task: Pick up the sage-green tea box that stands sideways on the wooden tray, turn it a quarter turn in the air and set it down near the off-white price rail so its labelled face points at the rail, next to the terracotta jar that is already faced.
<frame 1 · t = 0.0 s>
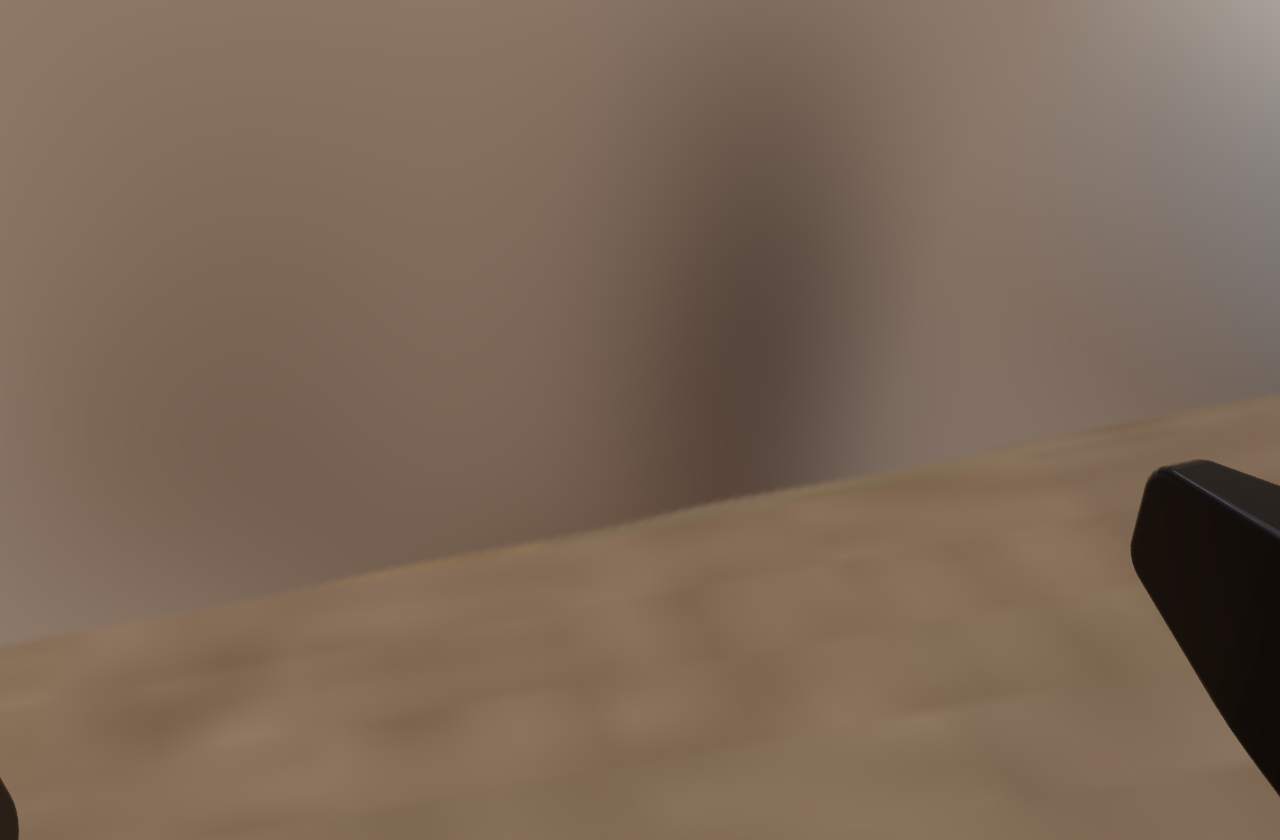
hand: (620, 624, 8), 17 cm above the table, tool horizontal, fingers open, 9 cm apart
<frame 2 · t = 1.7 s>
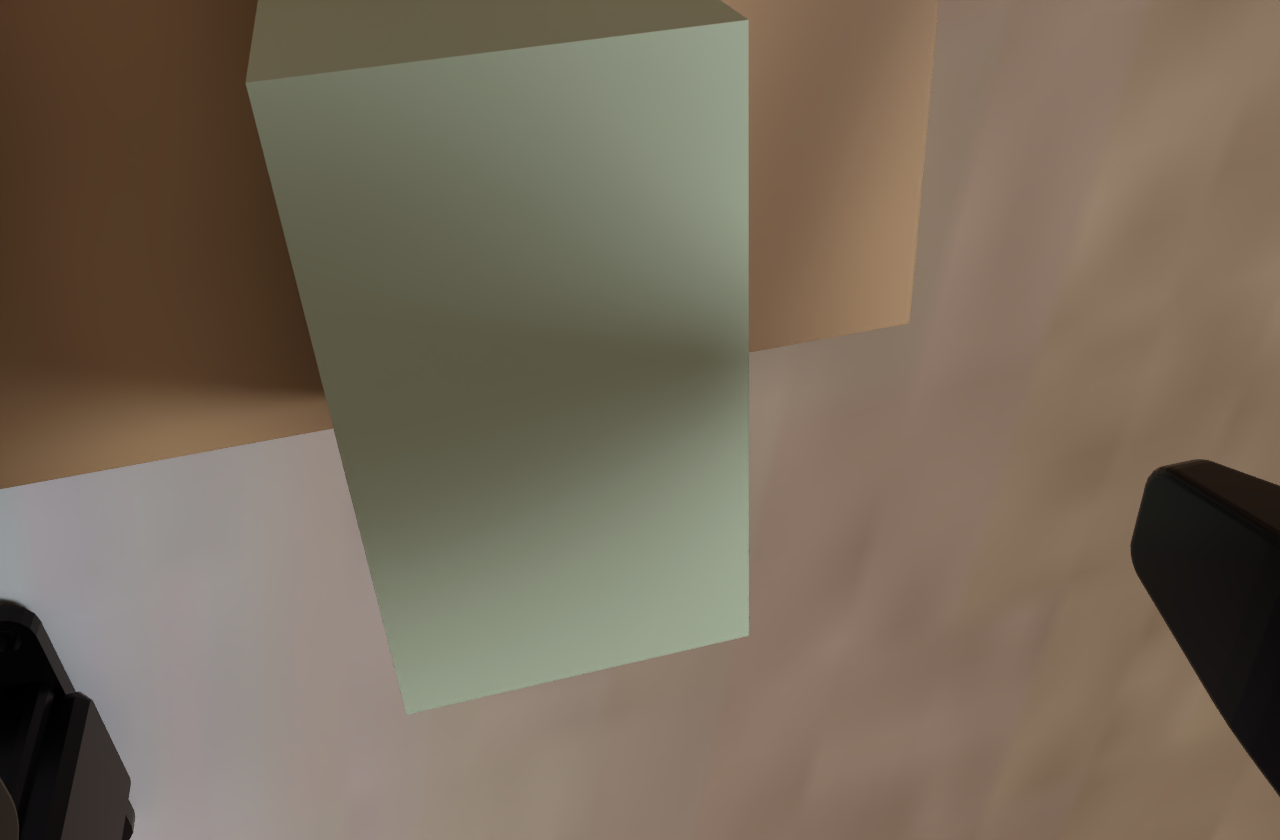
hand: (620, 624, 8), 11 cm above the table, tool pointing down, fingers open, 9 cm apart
tea box: (464, 171, 16), point 1 cm above the table, touching wooden tray
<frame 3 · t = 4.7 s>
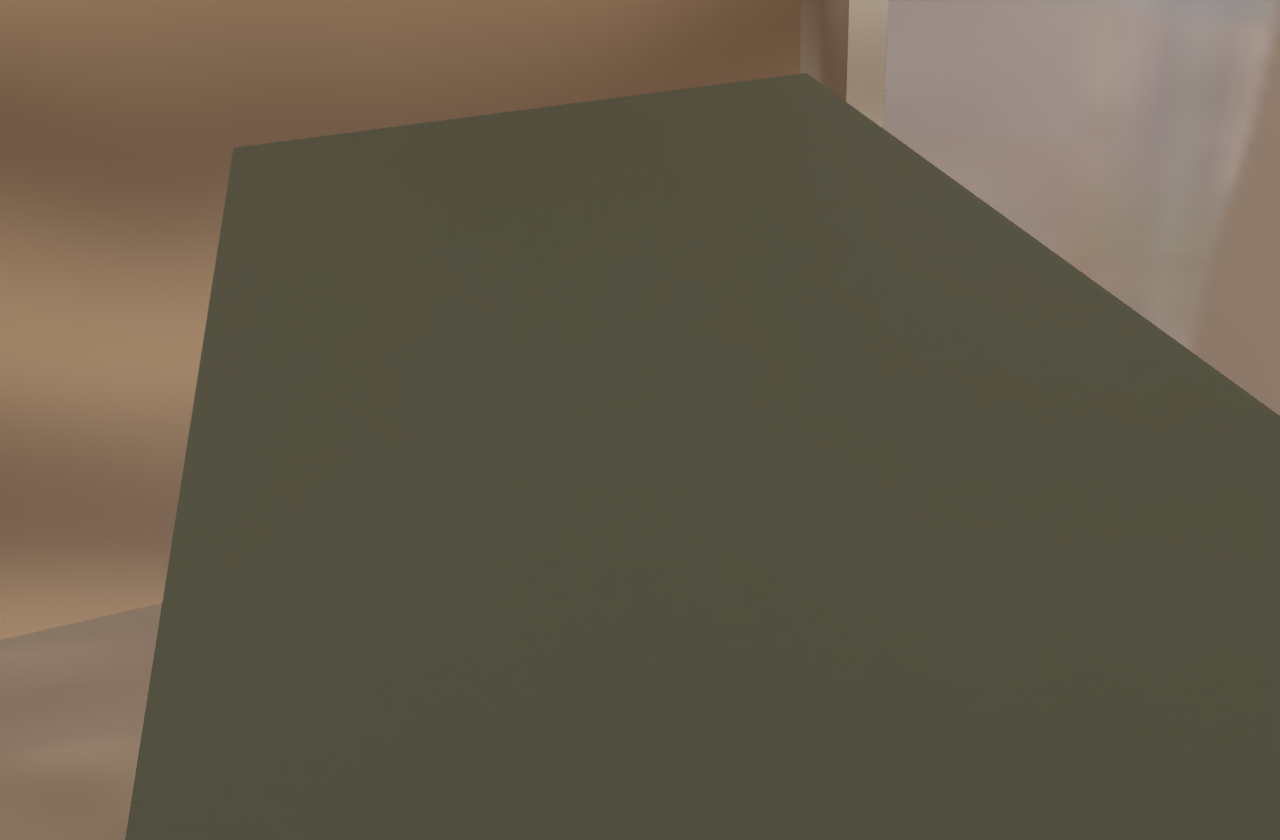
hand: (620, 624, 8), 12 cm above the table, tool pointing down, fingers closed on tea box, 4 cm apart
tea box: (575, 507, 10), point 11 cm above the table, touching gripper
wooden tray: (288, 75, 17), on the table
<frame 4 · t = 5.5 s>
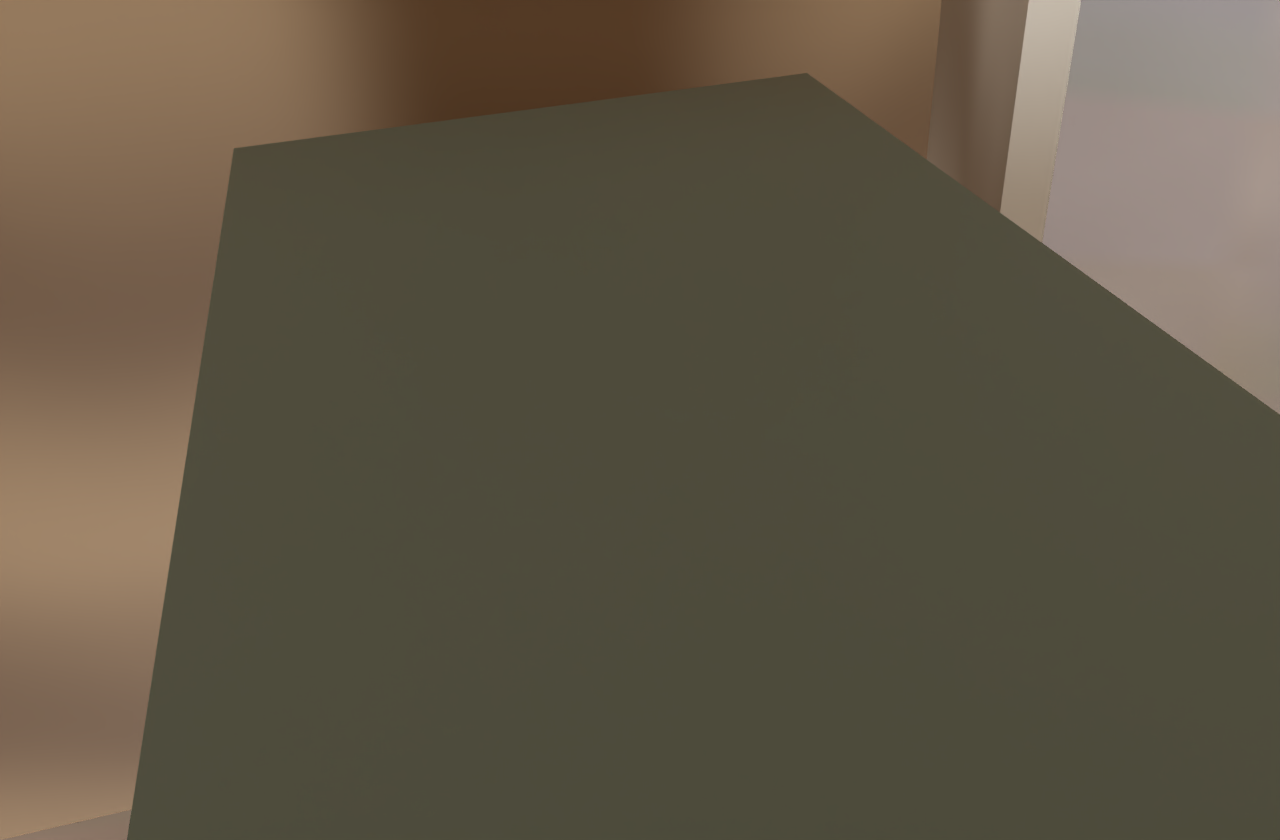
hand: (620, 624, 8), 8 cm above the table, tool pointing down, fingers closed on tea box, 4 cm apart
tea box: (576, 508, 9), point 6 cm above the table, touching gripper
wooden tray: (283, 192, 14), on the table
when the fingers open (5 cm above the table, at t = 6.3 s): tea box drops 2 cm, resting on wooden tray.
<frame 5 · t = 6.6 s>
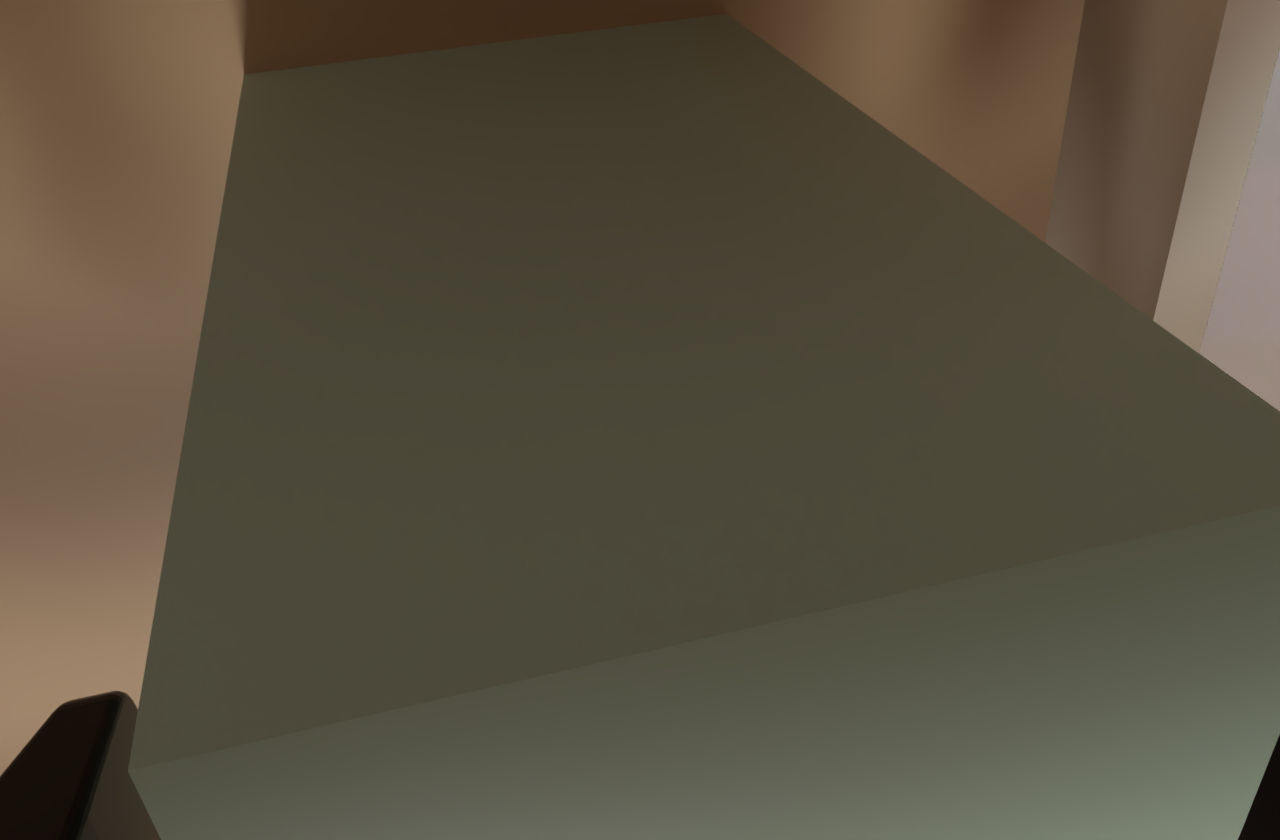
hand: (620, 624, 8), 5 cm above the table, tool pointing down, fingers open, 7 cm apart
tea box: (540, 400, 11), point 1 cm above the table, touching wooden tray
wooden tray: (270, 288, 11), on the table
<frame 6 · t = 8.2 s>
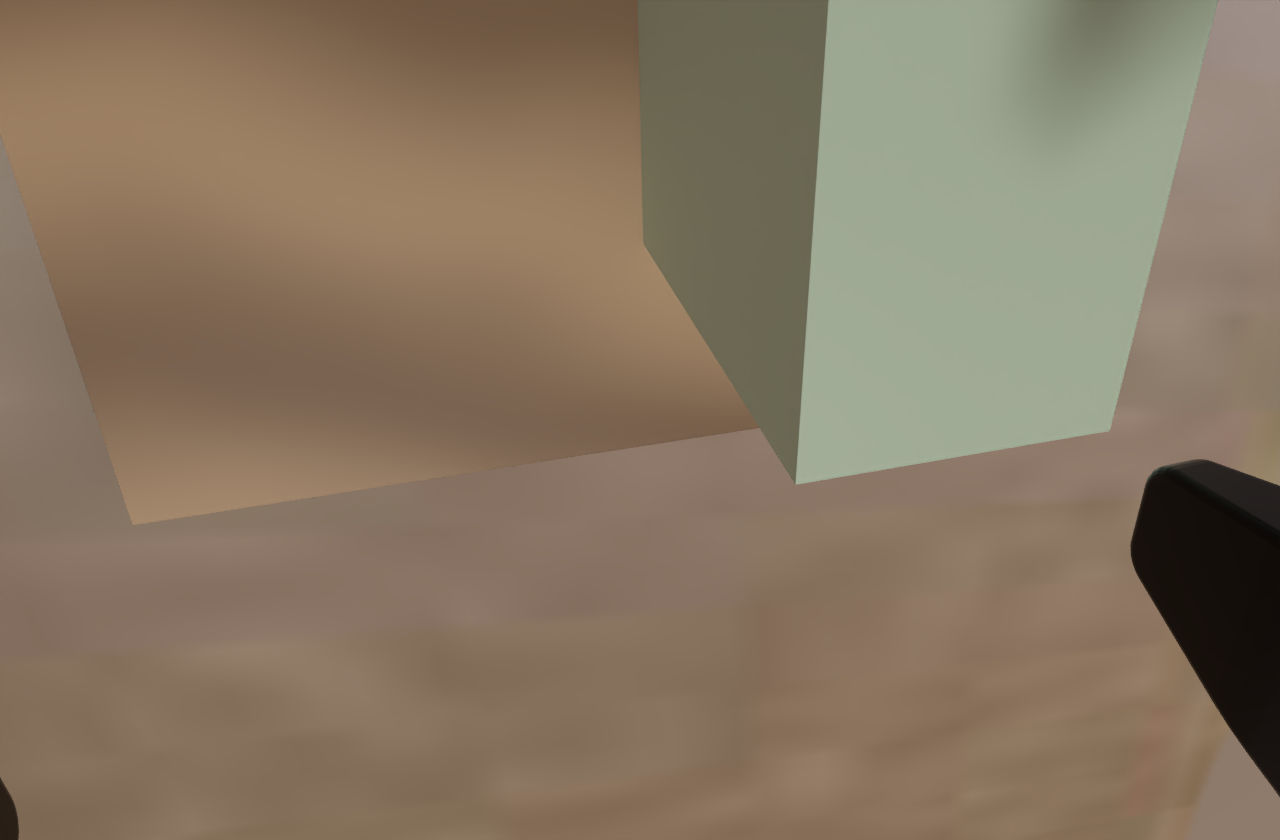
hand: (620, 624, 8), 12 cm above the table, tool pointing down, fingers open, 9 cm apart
tea box: (766, 13, 17), point 1 cm above the table, touching wooden tray
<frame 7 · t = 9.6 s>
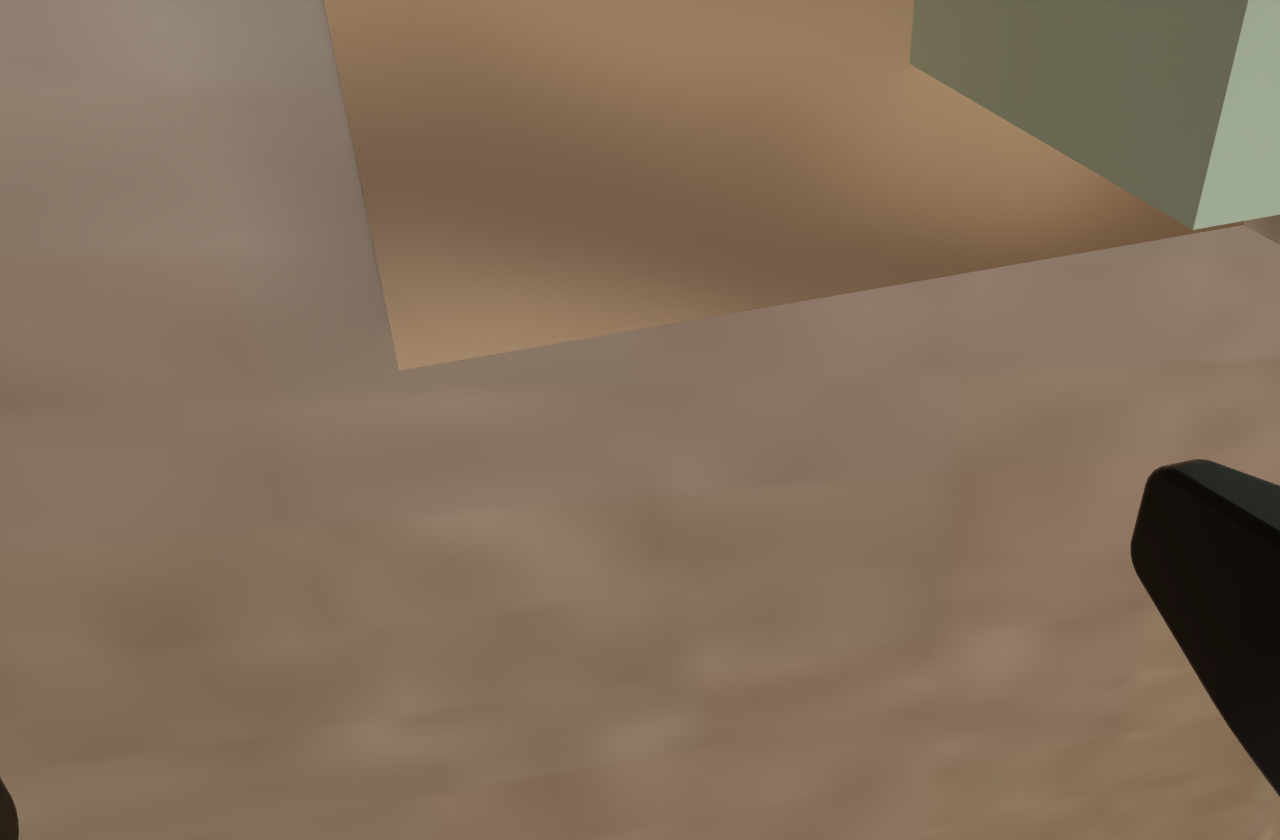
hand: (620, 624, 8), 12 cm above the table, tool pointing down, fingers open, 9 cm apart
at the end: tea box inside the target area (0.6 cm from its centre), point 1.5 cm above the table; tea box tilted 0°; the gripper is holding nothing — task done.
